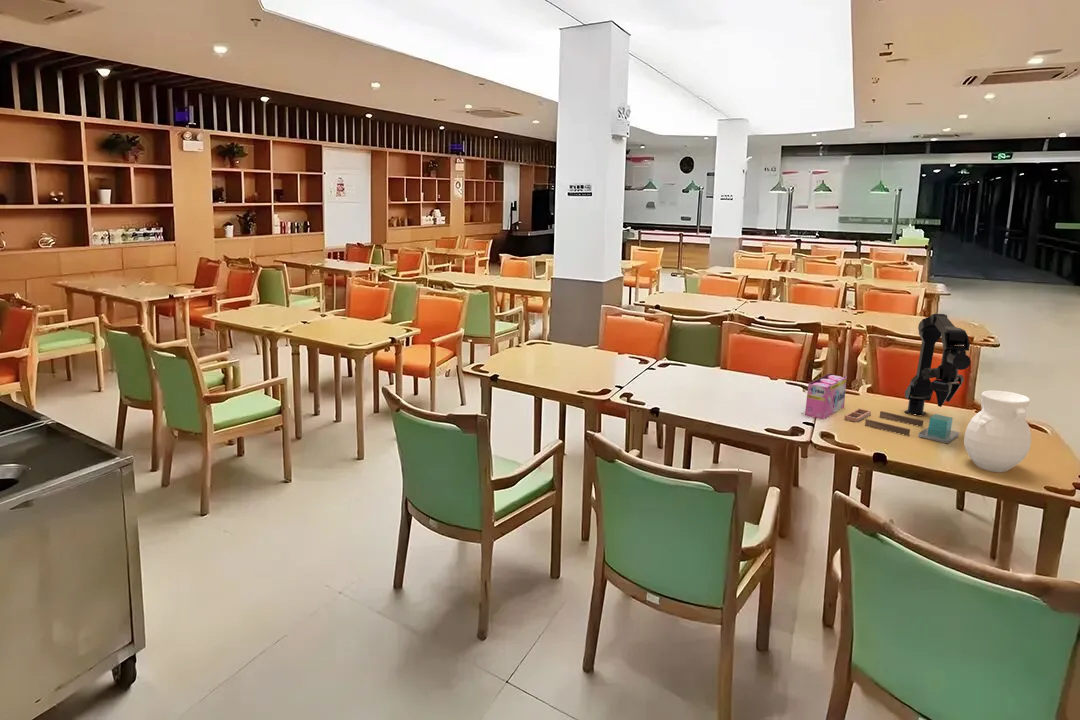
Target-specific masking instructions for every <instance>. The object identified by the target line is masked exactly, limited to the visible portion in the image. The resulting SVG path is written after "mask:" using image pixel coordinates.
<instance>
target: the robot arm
mask: <svg viewBox="0 0 1080 720" xmlns="http://www.w3.org/2000/svg"><path fill="white" fill-rule="evenodd" d="M917 329H918V335H919V337H920V339H921V345H920V350H919V351H920V352H919V358H918V362H917V368H916V374H915V376H914V377H912V378H911V380H910V382H909V385H908V386H907V388H906V389H905V390H904V398H906V399H907V400H908V406H907V409H906V410H905V411H903V412H906V413H905V414H908V413H911V414H910V415H913V414H916V415H915V416H918V415H922V416H923V414H924V413H925V414H926V413H927V411H924V408H925V402H926V401H928V402H930V401H931V399H932V396H933V393H935V395H936V400H937V401H936V402H937V406H938V407H939V408H941V407H943V405H944V404H945V402H947V403H948V402H951V401H952V399H953V397H954V396H955V395H956V393H957V391H958V390H959V389H960V388H961V386H962V384H964V380H965V378H964V376H963V374H959V371H962V370H963V371H964V370H966V369H967V368H969V367H970V365H971V358H970V356H969V355H967V351H969V352H970V347H971V344H970V341H969V336H968V333H967V332H966V330H965V329H963V328H961V327H958V326H957V327H956V326H955V325H954V324H953V322H952V321H950V319H949V317H948V315H947V314H945V313H932V314H931V315H930V316H928V317H924V318H922V319H921V321H920V322H919V323H918V327H917ZM939 340H941V343H942V348H943V351H942V356H941V363H940V364H939V365H938V366H937V367H934V368H932V363H933V357H934V351H935V346H936V345H935V344H936V343H937V342H938V341H939ZM933 378H934V380H933V381H931V379H933ZM925 414H924V415H925Z"/></svg>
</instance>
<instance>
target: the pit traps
mask: <svg viewBox="0 0 1080 720" xmlns="http://www.w3.org/2000/svg"><path fill="white" fill-rule="evenodd" d="M871 413H872V410H868V409H864V408H857V409H855V410H853V411H851V412H849V413H846V414H845V415H844V421H847V420H849V421H848V422H851V421H853V422H852V423H855V422H858V423H859V422H861V421H863V420H865V419H867V418H868V416H869V417H871V415H872V414H871ZM866 417H867V418H866ZM864 418H865V419H864ZM862 419H863V420H862ZM860 420H861V421H860Z"/></svg>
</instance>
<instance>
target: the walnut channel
mask: <svg viewBox="0 0 1080 720" xmlns="http://www.w3.org/2000/svg"><path fill="white" fill-rule="evenodd" d="M880 417H881V419H884V418H886V419H885V420H889V419H890V420H889V421H893V420H894V422H897V421H900V422H899V423H902V422H904V423H903V424H906V423H909V424H908V425H910V424H913V425H912V426H915V425H918V426H917V427H919V426H923V427H924V420H923V419H919V418H914V417H910V416H906V415H901V414H896V413H892V412H886V411H882V410H881V411H879V418H880ZM864 422H865V423H864V426H865V427H868V426H870V427H869V428H873V427H874V429H877V428H878V429H877V430H881V429H883V430H882V431H885V430H887V431H886V432H889V431H891V432H890V433H893V432H896V433H895V434H897V433H900V434H899V435H902V434H904V435H903V436H906V435H908V436H907V437H909V436H910V433H911V429H910V428H908V427H907V428H906V427H902V426H898V425H895V424H890V423H886V422H881V421H878V420H873V419H868V418H865V421H864Z"/></svg>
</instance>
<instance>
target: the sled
mask: <svg viewBox="0 0 1080 720" xmlns="http://www.w3.org/2000/svg"><path fill="white" fill-rule="evenodd" d="M953 419H954V417H950V416H946V415H941V414H937V413H935V414H933V415H932V416H930V417H929V422H928V426H927V427H926V428H925V429H923V430H922V431H920V432H919V433H918V436H917V437H918V438H924V439H928V440H932V441H936V442H941V443H944V444H949V443H951V441H953V440H955V438H957V437H958V436H959V435H960V431H956V430H952V425H953Z"/></svg>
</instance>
